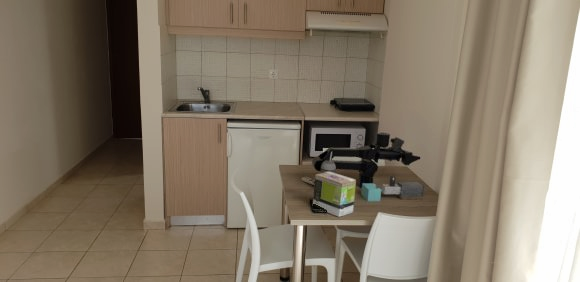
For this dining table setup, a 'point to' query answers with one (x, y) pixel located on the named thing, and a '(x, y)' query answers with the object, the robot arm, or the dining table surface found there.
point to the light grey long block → (391, 187)
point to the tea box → (334, 193)
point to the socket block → (370, 192)
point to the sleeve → (411, 190)
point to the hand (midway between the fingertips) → (416, 155)
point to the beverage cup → (328, 166)
